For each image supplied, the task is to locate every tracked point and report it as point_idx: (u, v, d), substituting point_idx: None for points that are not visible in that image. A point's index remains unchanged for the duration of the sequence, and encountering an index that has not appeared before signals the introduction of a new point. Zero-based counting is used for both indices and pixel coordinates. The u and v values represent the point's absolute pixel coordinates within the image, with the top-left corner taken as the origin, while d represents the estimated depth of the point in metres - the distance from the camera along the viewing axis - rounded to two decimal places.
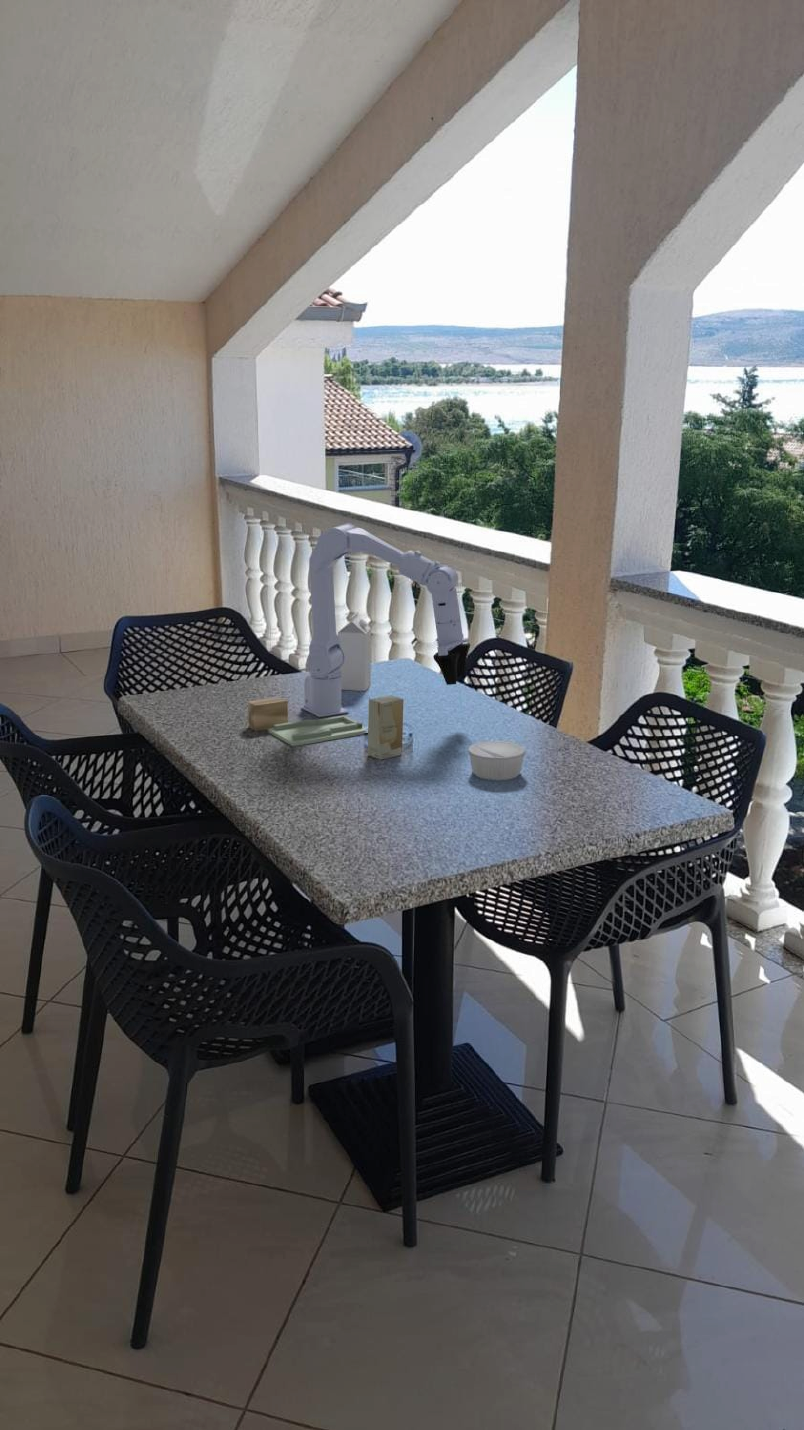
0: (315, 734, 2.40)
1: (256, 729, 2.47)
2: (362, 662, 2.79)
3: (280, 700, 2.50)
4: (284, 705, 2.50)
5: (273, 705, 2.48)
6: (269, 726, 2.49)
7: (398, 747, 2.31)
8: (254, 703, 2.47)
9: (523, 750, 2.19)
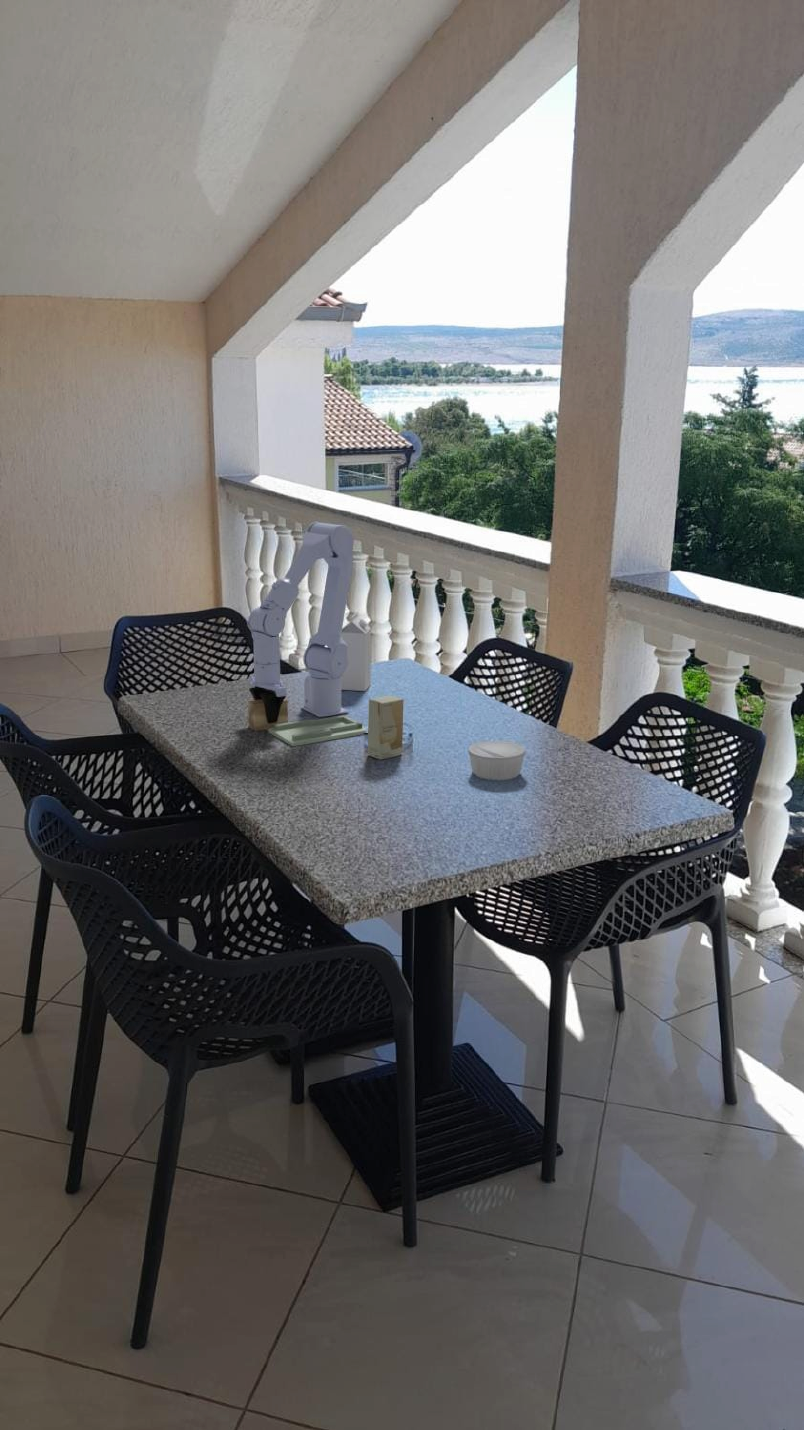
0: (315, 734, 2.40)
1: (256, 729, 2.47)
2: (362, 662, 2.79)
3: None
4: (284, 705, 2.50)
5: None
6: (269, 726, 2.49)
7: (398, 747, 2.31)
8: (254, 703, 2.47)
9: (523, 750, 2.19)
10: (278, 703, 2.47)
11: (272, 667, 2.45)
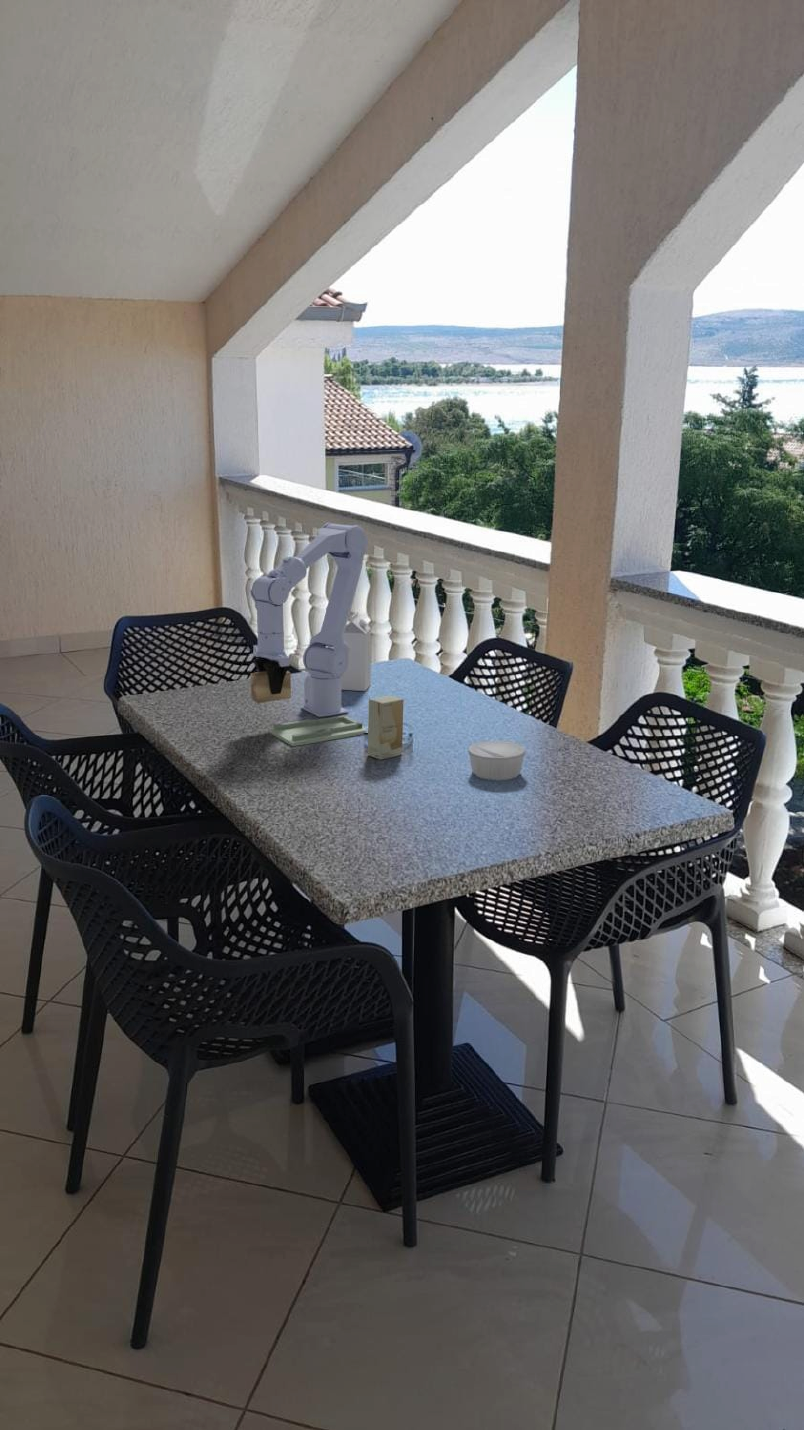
0: (315, 734, 2.40)
1: (259, 701, 2.45)
2: (362, 662, 2.79)
3: None
4: (287, 677, 2.47)
5: None
6: (272, 698, 2.46)
7: (398, 747, 2.31)
8: (257, 674, 2.44)
9: (523, 750, 2.19)
10: (282, 674, 2.44)
11: (276, 637, 2.42)
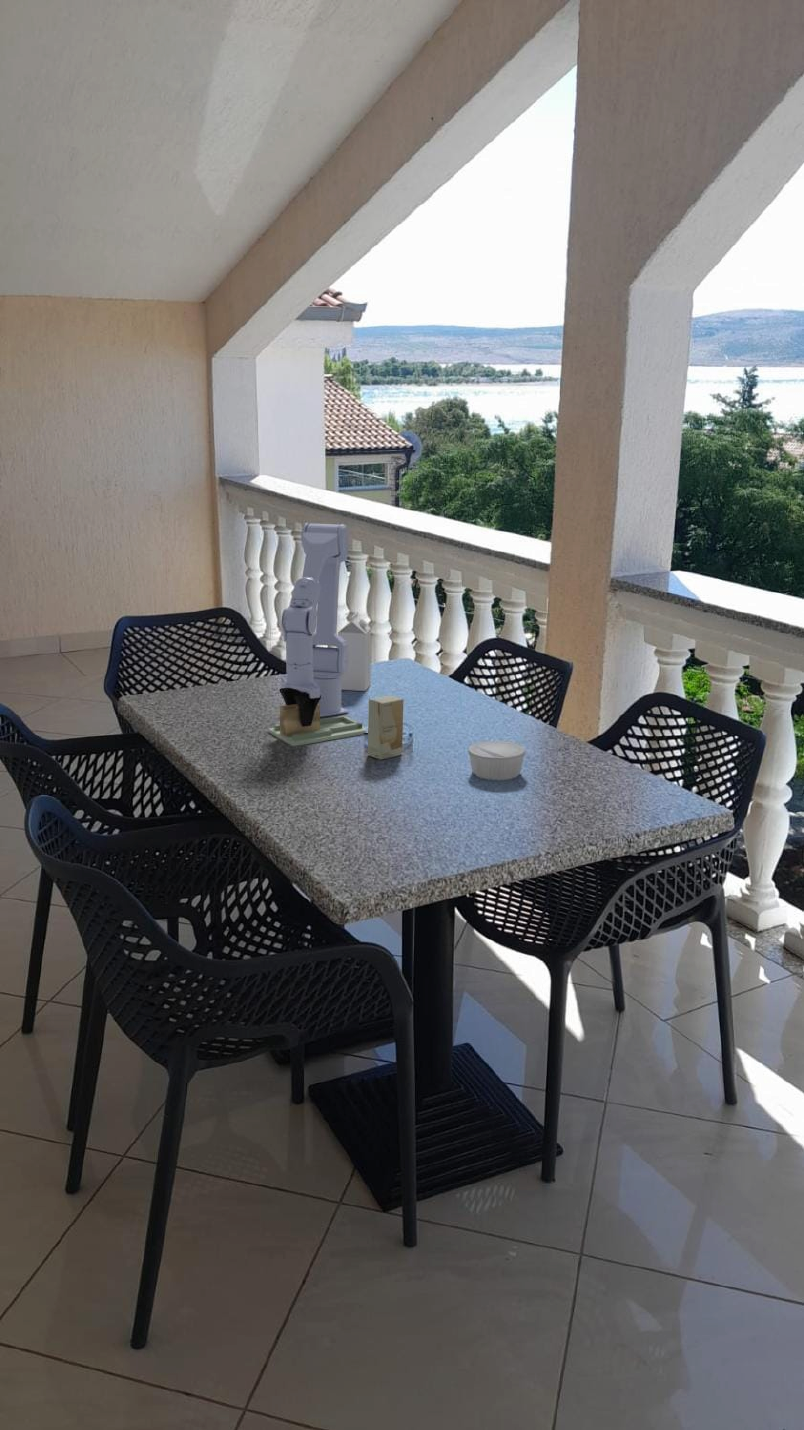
0: (315, 734, 2.40)
1: (288, 735, 2.41)
2: (362, 662, 2.79)
3: None
4: (316, 710, 2.43)
5: None
6: (301, 731, 2.42)
7: (398, 747, 2.31)
8: (286, 708, 2.40)
9: (523, 750, 2.19)
10: (312, 706, 2.40)
11: (305, 668, 2.38)
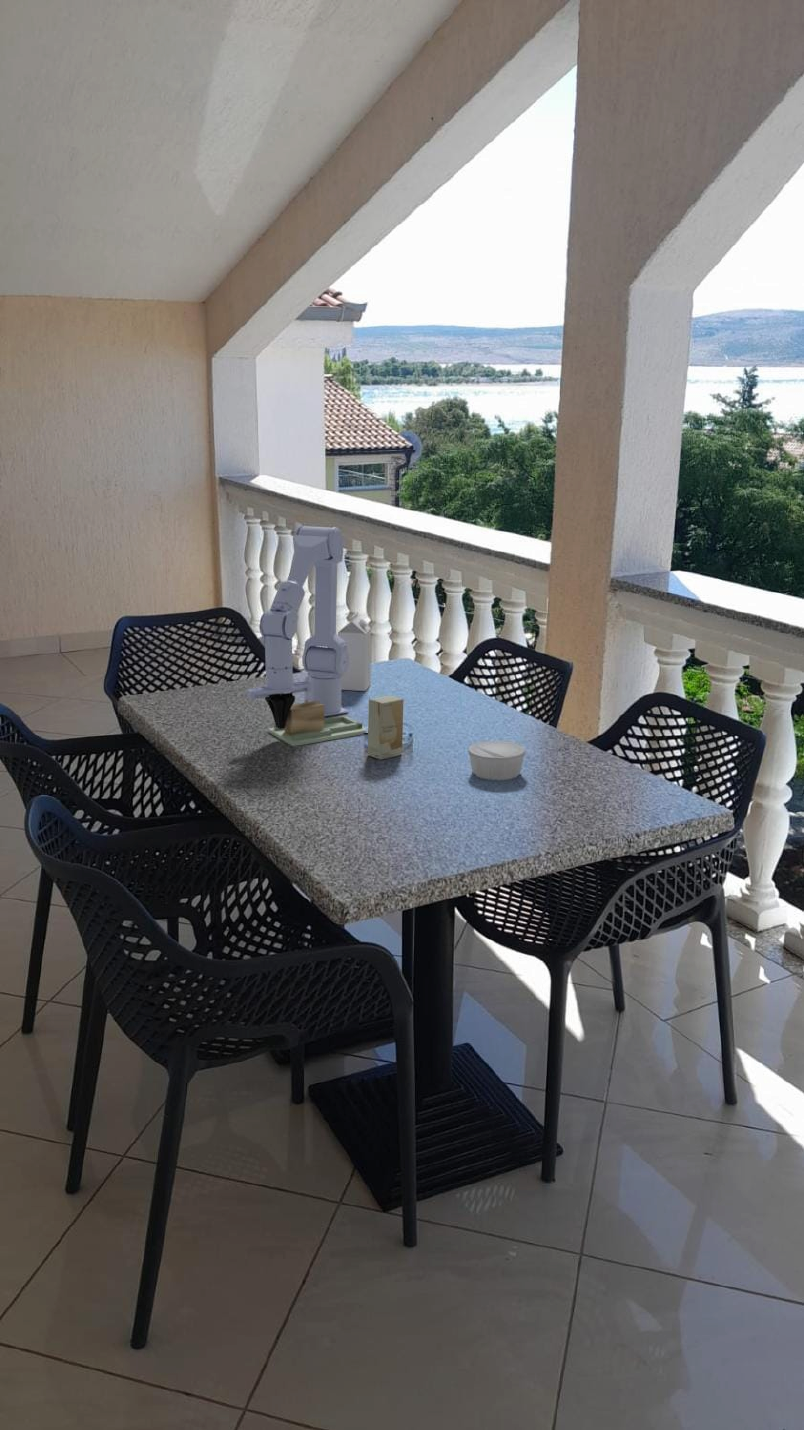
0: (315, 734, 2.40)
1: (292, 734, 2.41)
2: (362, 662, 2.79)
3: (317, 704, 2.44)
4: (321, 709, 2.43)
5: (310, 710, 2.42)
6: (305, 731, 2.43)
7: (398, 747, 2.31)
8: None
9: (523, 750, 2.19)
10: None
11: None
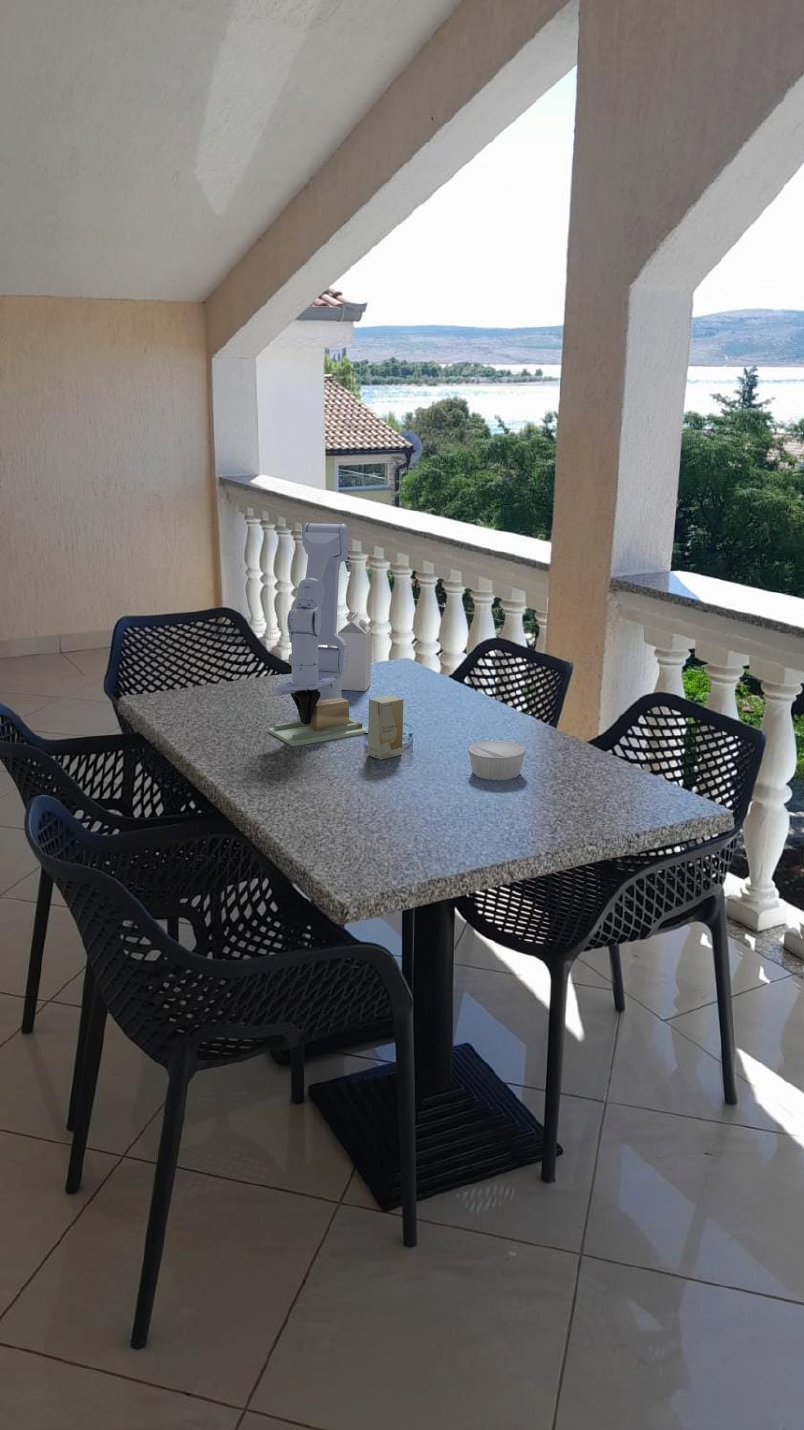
0: (315, 734, 2.40)
1: None
2: (362, 662, 2.79)
3: (342, 700, 2.47)
4: (346, 705, 2.47)
5: (335, 706, 2.45)
6: None
7: (398, 747, 2.31)
8: None
9: (523, 750, 2.19)
10: None
11: None
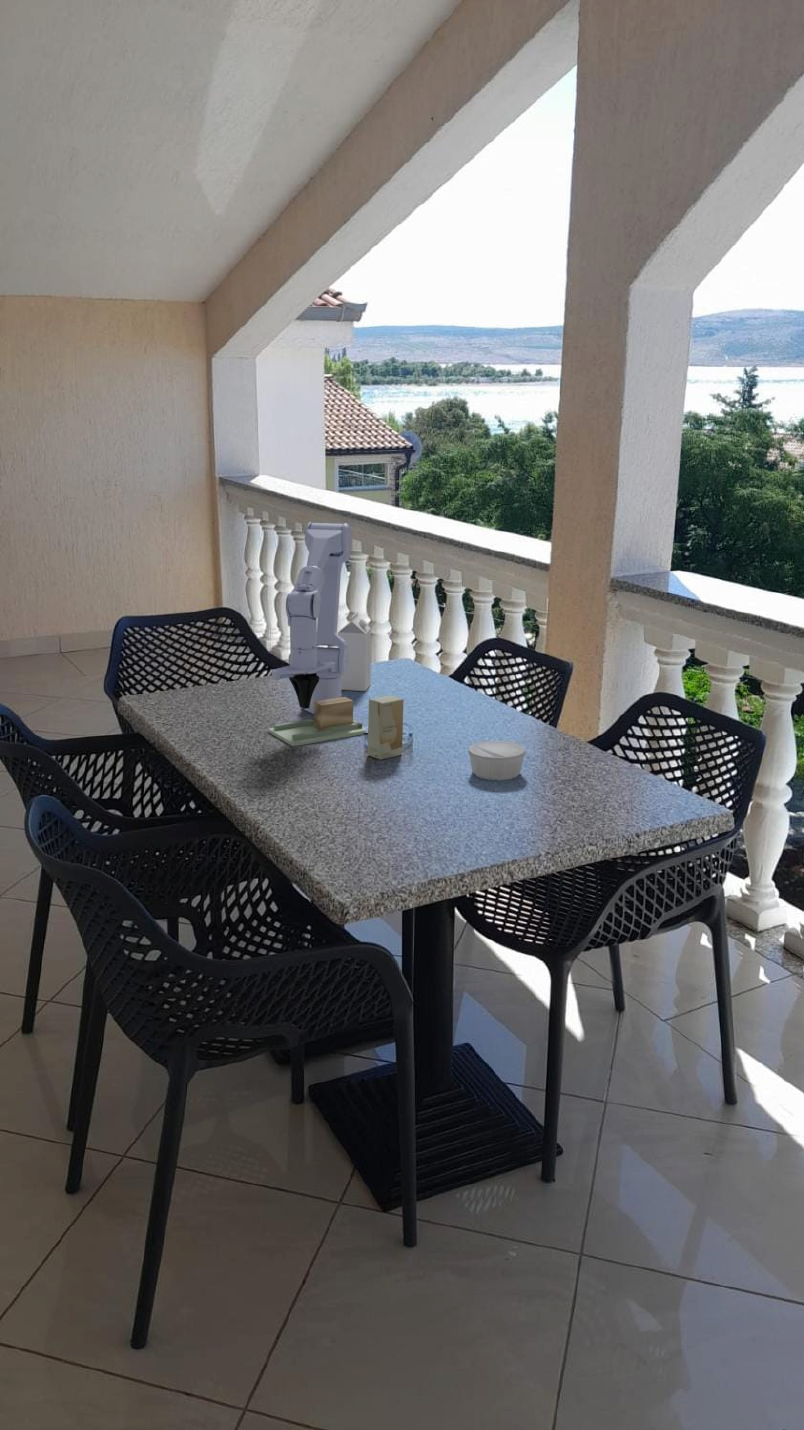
0: (315, 734, 2.40)
1: None
2: (362, 662, 2.79)
3: (346, 700, 2.47)
4: (350, 705, 2.47)
5: (339, 705, 2.46)
6: None
7: (398, 747, 2.31)
8: (320, 703, 2.45)
9: (523, 750, 2.19)
10: None
11: None
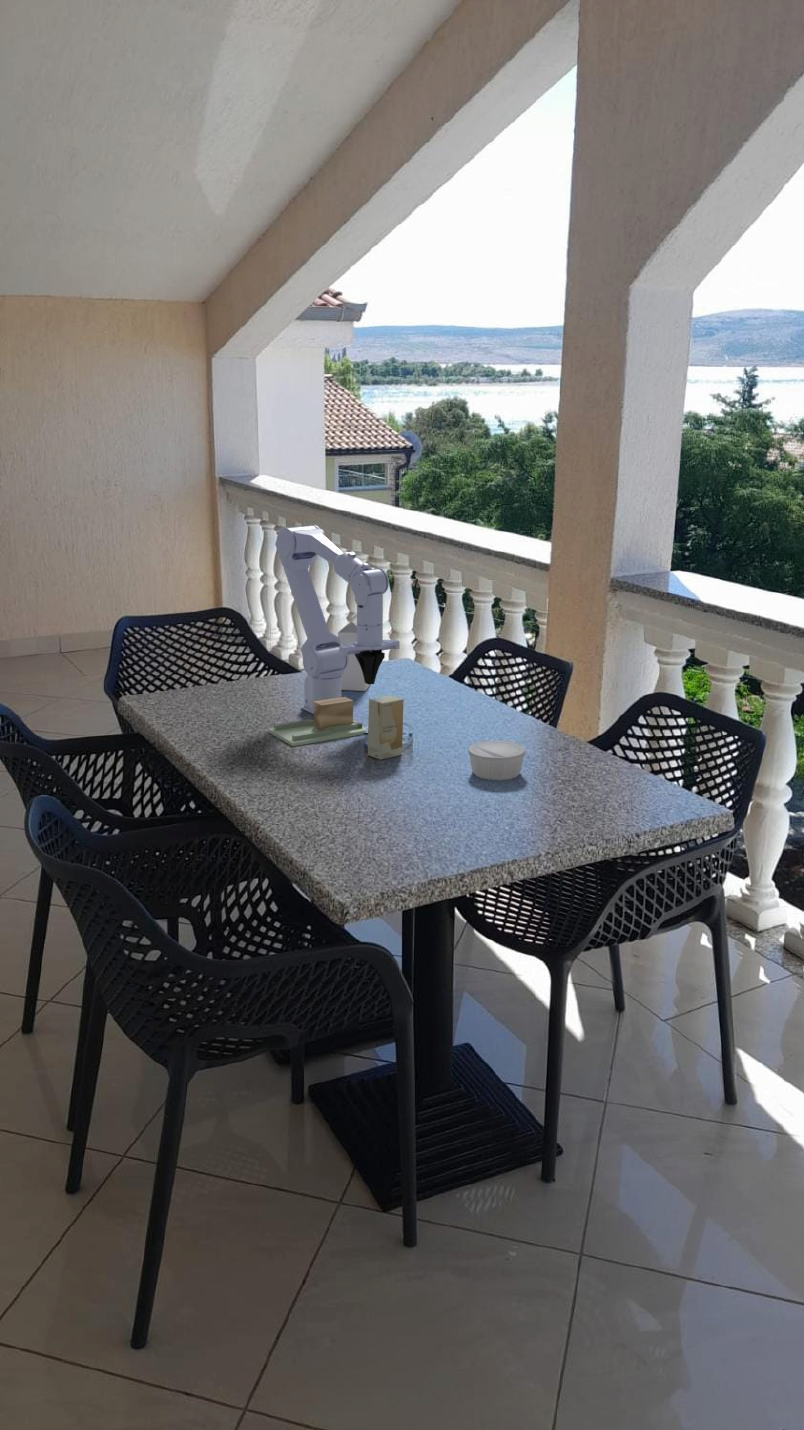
0: (315, 734, 2.40)
1: None
2: None
3: (346, 700, 2.47)
4: (350, 705, 2.47)
5: (339, 705, 2.46)
6: None
7: (398, 747, 2.31)
8: (320, 703, 2.45)
9: (523, 750, 2.19)
10: None
11: None
